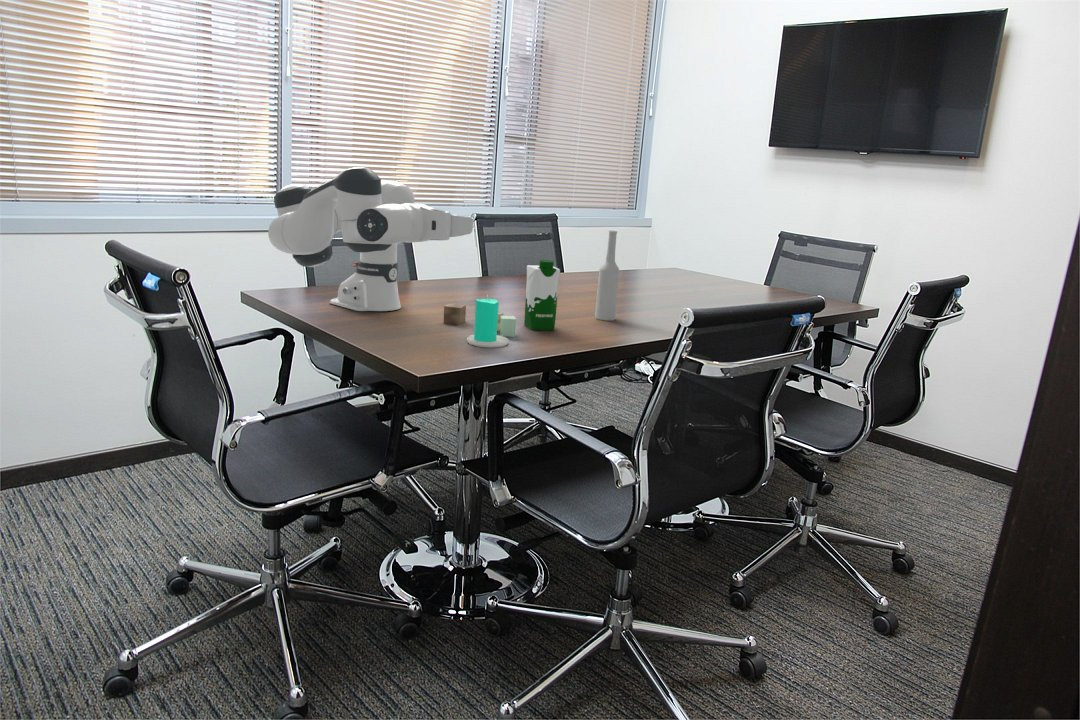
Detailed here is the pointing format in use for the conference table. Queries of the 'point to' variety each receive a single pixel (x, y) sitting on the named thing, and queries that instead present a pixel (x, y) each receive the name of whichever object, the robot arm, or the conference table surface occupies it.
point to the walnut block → (454, 313)
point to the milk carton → (541, 296)
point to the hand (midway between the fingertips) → (450, 220)
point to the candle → (486, 320)
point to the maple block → (499, 320)
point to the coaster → (499, 342)
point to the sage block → (507, 326)
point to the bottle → (608, 283)
